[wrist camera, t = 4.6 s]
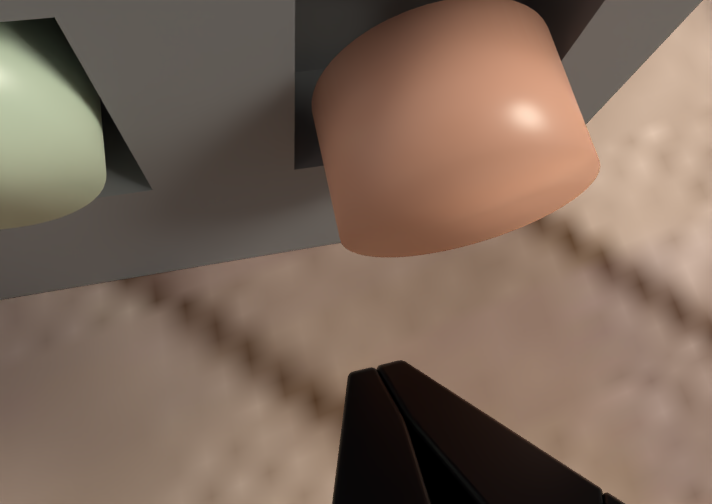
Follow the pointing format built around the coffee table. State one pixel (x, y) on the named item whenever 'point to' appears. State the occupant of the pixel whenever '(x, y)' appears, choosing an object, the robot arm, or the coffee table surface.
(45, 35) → the sage button
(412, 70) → the terracotta button
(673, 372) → the coffee table surface
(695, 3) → the console
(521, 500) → the robot arm
